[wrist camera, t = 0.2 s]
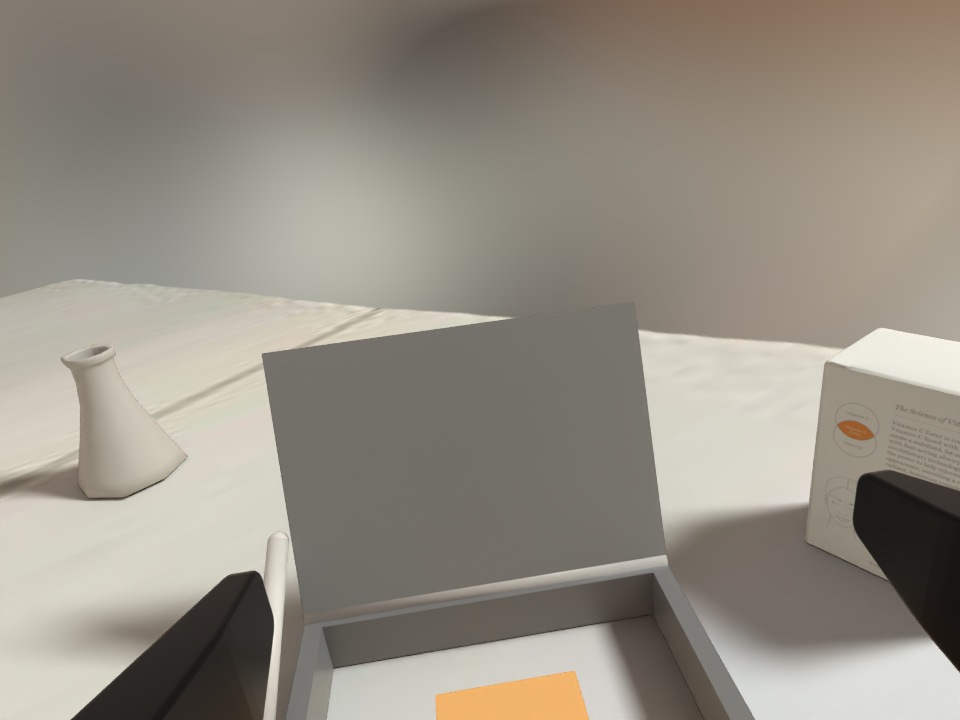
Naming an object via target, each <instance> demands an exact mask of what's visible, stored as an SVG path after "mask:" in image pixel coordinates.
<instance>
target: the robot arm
mask: <svg viewBox="0 0 960 720" xmlns="http://www.w3.org/2000/svg"><path fill="white" fill-rule="evenodd" d="M852 520H853V526H854V530H855V532H856V534H857V536H858V537H859V539H860V540H861V542H862V543H863V545H864V546H865V547H866V549H867V550H868V552H869V553H870V555H871V556H872V557H873V559H874V560H875V562H876V563H877V565H878V566H879V568H880V569H881V570H882V572H883V573H884V575H885V576H886V578H887V579H888V580H889V582H890V583H891V585H892V586H893V588H894V589H895V590H896V592H897V593H898V595H899V596H900V598H901V599H902V601H903V602H904V603H905V605H906V606H907V608H908V609H909V610H910V612H911V613H912V615H913V616H914V617H915V619H916V620H917V621H918V623H919V624H920V625H921V627H922V628H923V629H924V630H925V632H926V633H927V634H928V635H929V637H930V638H931V639H932V640H933V641H934V643H935V644H936V645H937V646H938V647H939V649H940V650H941V651H942V652H943V653H944V654H945V656H946V657H947V658H948V659H949V660H950V662H951V663H952V664H953V665H954V666H955V668H956V669H957V670H958V671H959V672H960V491H959V490H956V489H952V488H949V487H946V486H942V485H939V484H936V483H933V482H929V481H926V480H923V479H919V478H916V477H913V476H910V475H906V474H903V473H900V472H897V471H893V470H881V471H875V472H869V473H864V474H863V475H861V476H860V477H859V479H858V481H857V487H856V494H855V502H854V509H853V517H852ZM273 637H274V617H273V612H272V609H271V606H270V602H269V599H268V596H267V593H266V589H265V586H264V583H263V580H262V577H261V576H260V574H259V573H258V572H256V571H248V572H242V573H235V574H230V575H228V576H227V577H225V578H224V579H223V580H222V581H221V582H220V583H219V584H217V585H216V586H215V587H214V588H213V589H212V590H211V591H210V592H209V593H208V594H207V595H206V596H204V597H203V598H202V599H201V600H200V601H199V602H198V603H197V604H196V605H195V606H194V607H192V608H191V609H190V610H189V611H188V612H187V613H186V614H185V615H184V616H183V617H182V618H181V619H179V620H178V621H177V622H176V623H175V624H174V625H173V626H172V627H171V628H170V629H169V630H168V631H166V632H165V633H164V634H163V635H162V636H161V637H160V638H159V639H158V640H157V641H156V642H154V643H153V644H152V645H151V646H150V647H149V648H148V649H147V650H146V651H145V652H144V653H143V654H141V655H140V656H139V657H138V658H137V659H136V660H135V661H134V662H133V663H132V664H131V665H130V666H128V667H127V668H126V669H125V670H124V671H123V672H122V673H121V674H120V675H119V676H118V677H117V678H115V679H114V680H113V681H112V682H111V683H110V684H109V685H108V686H107V687H106V688H105V689H103V690H102V691H101V692H100V693H99V694H98V695H97V696H96V697H95V698H94V699H93V700H92V701H90V702H89V703H88V704H87V705H86V706H85V707H84V708H83V709H82V710H81V711H80V712H79V713H77V714H76V715H75V716H74V717H73V718H72V719H71V720H263V718H264V710H265V702H266V694H267V686H268V677H269V669H270V661H271V653H272V645H273Z"/></svg>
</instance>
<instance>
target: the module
mask: <svg viewBox="0 0 960 720" xmlns="http://www.w3.org/2000/svg"><path fill="white" fill-rule="evenodd" d="M436 718H437V720H589V717H588V714H587V711H586V707H585V704H584V700H583V697H582V693H581V690H580V687H579V683H578V680H577V676H576V673H575V671H570V672H564V673H559V674H553V675H547V676H541V677H536V678H530V679H524V680H518V681H513V682H507V683H501V684H495V685H490V686H484V687H478V688H472V689H467V690H461V691H455V692H449V693H444V694H438V695H436Z"/></svg>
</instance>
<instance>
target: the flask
mask: <svg viewBox="0 0 960 720" xmlns="http://www.w3.org/2000/svg"><path fill="white" fill-rule="evenodd" d="M114 355H116V350H115V347H113V346H112V345H110V344H98V345H91V346H88V347H85V348H81V349H78V350H75V351H73V352H71V353H69V354H67V355H65V356H63V357H61V361H62V362H63V364H64V365H66V366H67V367H68V368H69V369H70V370H71V372H72V374H73V377H74V380H75V382H76V386H77V392H78V397H79V403H80V448H79V464H78V485H79V486H80V487H81V489H82V490H83V491H84V492H85V494H86V495H87V496H88V498H99V497H126V496H128V495H130V494H132V493H134V492H137V491H139V490H141V489H143V488H145V487H147V486H149V485H152V484H154V483H156V482H158V481H160V480H162V479H164V478H166V477H167V476H168V475H169V474H170V473H171V472H172V471H174V470H175V469H176V468H177V467H178V466H179V465H180V464H181V463H182V462H183V461H184V460H185V459H186V458H187V457H188V456H187V454H186V453H185V452H184V451H183V450H182V449H181V448H180V447H179V445H178V444H177V443H176V442H175V441H174V440H173V439H172V438H171V437H170V436H169V435H168V434H167V433H166V432H165V431H164V430H163V429H162V428H161V426H160V425H159V424H158V423H157V422H156V421H155V420H154V419H153V418H152V416H151V415H150V414H149V413H148V412H147V411H146V410H145V408H144V407H143V406H142V405H141V404H140V403H139V402H138V400H137V399H136V398H135V397H134V396H133V394H132V393H131V391H130V390H129V388H128V386H127V385H126V383H125V382H124V380H123V379H122V377H121V375H120V373H119V371H118V368H117V366H116V363H115V361H114Z"/></svg>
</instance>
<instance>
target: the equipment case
mask: <svg viewBox="0 0 960 720" xmlns="http://www.w3.org/2000/svg"><path fill="white" fill-rule="evenodd" d="M262 358H263V365H264V371H265V377H266V383H267V390H268V396H269V402H270V408H271V415H272V421H273V427H274V433H275V440H276V446H277V452H278V458H279V465H280V471H281V477H282V483H283V490H284V496H285V502H286V508H287V515H288V521H289V527H290V533H291V540H292V546H293V552H294V558H295V565H296V571H297V577H298V583H299V590H300V596H301V602H302V608H303V617H304V624H305V626H304V631H303V636H302V641H301V646H300V650H299V655H298V660H297V665H296V670H295V675H294V680H293V685H292V689H291V694H290V699H289V704H288V709H287V714H286V719H285V720H326V718H327V711H328V704H329V697H330V689H331V682H332V675H333V668H336V667H342V666H348V665H354V664H360V663H365V662H371V661H377V660H383V659H389V658H395V657H401V656H407V655H413V654H419V653H425V652H430V651H436V650H442V649H448V648H454V647H460V646H466V645H472V644H478V643H484V642H490V641H496V640H501V639H507V638H513V637H519V636H525V635H531V634H537V633H543V632H549V631H555V630H561V629H566V628H572V627H578V626H584V625H590V624H596V623H602V622H608V621H614V620H620V619H626V618H632V617H637V616H643V615H649V614H654V616H655V618H656V621H657V623H658V625H659V627H660V629H661V631H662V633H663V635H664V637H665V639H666V641H667V643H668V646H669V648H670V650H671V652H672V654H673V656H674V658H675V660H676V662H677V664H678V666H679V668H680V670H681V673H682V675H683V677H684V679H685V681H686V683H687V685H688V687H689V689H690V691H691V693H692V695H693V698H694V700H695V702H696V704H697V706H698V708H699V710H700V712H701V714H702V716H703V718H704V720H755V719H754V717H753V715H752V713H751V711H750V710H749V708H748V706H747V704H746V703H745V701H744V699H743V697H742V695H741V694H740V692H739V690H738V688H737V687H736V685H735V683H734V681H733V680H732V678H731V676H730V674H729V672H728V671H727V669H726V667H725V665H724V664H723V662H722V660H721V658H720V656H719V655H718V653H717V651H716V649H715V648H714V646H713V644H712V642H711V640H710V639H709V637H708V635H707V633H706V632H705V630H704V628H703V626H702V625H701V623H700V621H699V619H698V617H697V616H696V614H695V612H694V610H693V609H692V607H691V605H690V603H689V601H688V600H687V598H686V596H685V594H684V593H683V591H682V589H681V587H680V586H679V584H678V582H677V580H676V578H675V577H674V575H673V573H672V571H671V570H670V568H669V566H668V560H667V556H666V549H665V541H664V533H663V525H662V517H661V509H660V501H659V493H658V485H657V477H656V469H655V461H654V453H653V445H652V437H651V429H650V421H649V413H648V405H647V397H646V389H645V381H644V373H643V365H642V357H641V350H640V342H639V334H638V326H637V318H636V310H635V302H627V303H621V304H614V305H606V306H600V307H592V308H585V309H577V310H570V311H564V312H557V313H549V314H542V315H535V316H527V317H520V318H513V319H506V320H499V321H492V322H484V323H477V324H470V325H463V326H456V327H449V328H442V329H434V330H427V331H420V332H413V333H406V334H399V335H392V336H384V337H377V338H370V339H363V340H356V341H349V342H341V343H334V344H327V345H320V346H313V347H306V348H299V349H291V350H284V351H277V352H270V353H263V354H262ZM288 549H289V538H288V536H287V535H286V534H285V533H283V532H276V533H273V534H272V535H271V536H270V537H269V539H268V543H267V553H266V563H265V573H264V586H265V589H266V593H267V596H268V599H269V602H270V606H271V609H272V612H273V617H274V637H273V645H272V653H271V661H270V669H269V677H268V686H267V694H266V702H265V710H264V718H263V720H276V707H277V694H278V681H279V667H280V654H281V641H282V628H283V615H284V601H285V588H286V575H287V562H288Z"/></svg>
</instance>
